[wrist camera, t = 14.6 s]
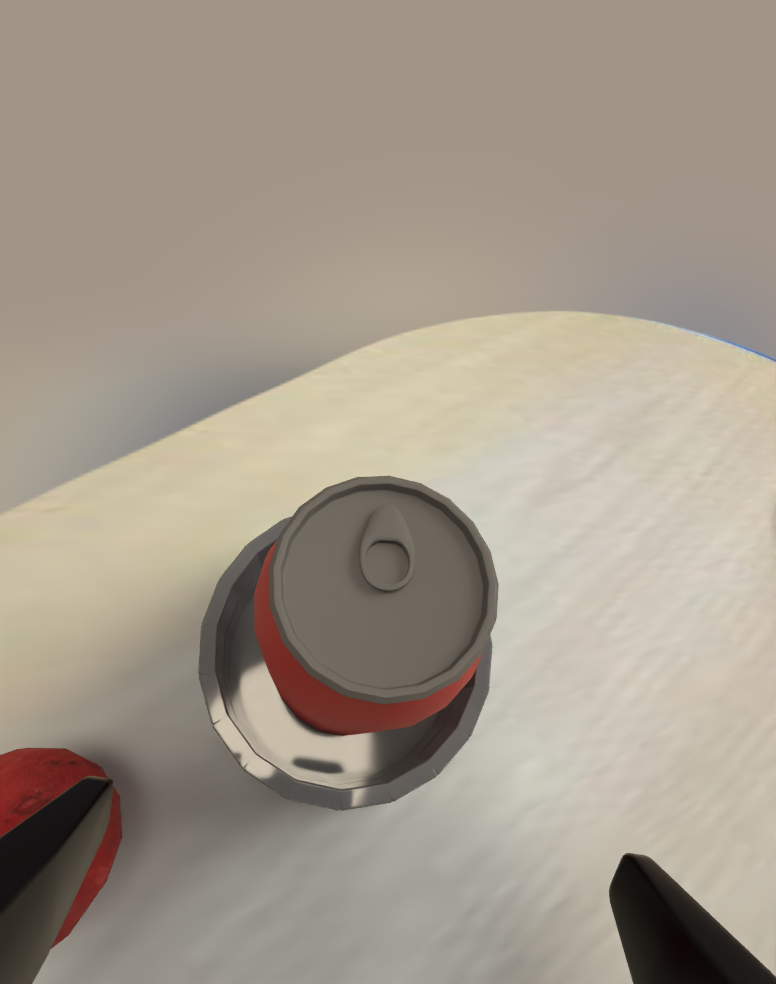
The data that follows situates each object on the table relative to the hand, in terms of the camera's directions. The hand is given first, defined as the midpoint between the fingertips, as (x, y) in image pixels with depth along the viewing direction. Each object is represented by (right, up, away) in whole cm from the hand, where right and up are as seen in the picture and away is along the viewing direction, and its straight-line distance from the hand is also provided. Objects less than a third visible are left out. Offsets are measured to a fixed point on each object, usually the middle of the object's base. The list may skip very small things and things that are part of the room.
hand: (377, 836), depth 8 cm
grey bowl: (-2, -2, +14) cm, 14 cm away
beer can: (-2, -2, +14) cm, 14 cm away
